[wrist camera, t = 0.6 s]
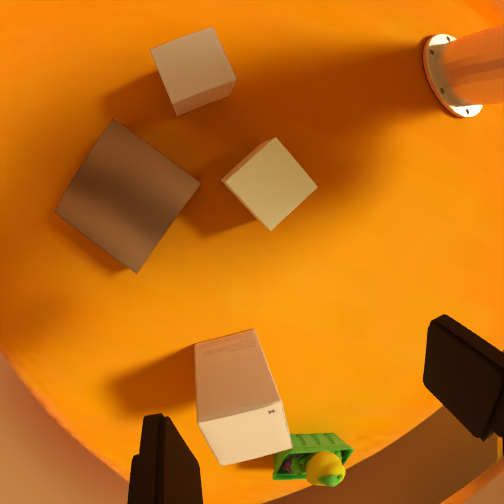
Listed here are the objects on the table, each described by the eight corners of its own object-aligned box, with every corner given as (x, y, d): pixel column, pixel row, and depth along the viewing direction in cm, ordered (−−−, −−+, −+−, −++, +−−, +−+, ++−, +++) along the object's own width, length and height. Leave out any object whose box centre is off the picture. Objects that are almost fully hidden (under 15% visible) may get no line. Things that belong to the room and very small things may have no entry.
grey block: (209, 51, 26) (212, 26, 20) (229, 96, 28) (237, 79, 22) (158, 70, 26) (150, 49, 20) (177, 116, 27) (172, 104, 22)
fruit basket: (264, 457, 41) (280, 512, 31) (281, 422, 40) (303, 481, 29) (325, 455, 44) (348, 502, 33) (346, 421, 42) (376, 470, 31)
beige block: (261, 143, 29) (275, 137, 24) (296, 183, 31) (317, 187, 25) (220, 179, 30) (225, 182, 24) (257, 219, 31) (270, 231, 26)
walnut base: (123, 125, 27) (112, 119, 23) (200, 182, 30) (201, 183, 26) (70, 206, 28) (54, 211, 24) (143, 261, 31) (136, 273, 27)
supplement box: (192, 342, 34) (194, 421, 22) (255, 327, 34) (284, 399, 22) (210, 389, 36) (219, 468, 24) (267, 375, 37) (295, 449, 25)
